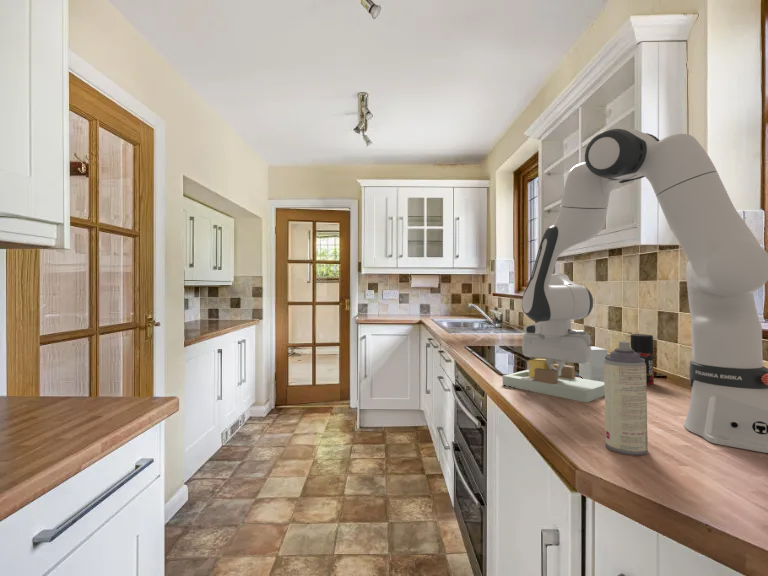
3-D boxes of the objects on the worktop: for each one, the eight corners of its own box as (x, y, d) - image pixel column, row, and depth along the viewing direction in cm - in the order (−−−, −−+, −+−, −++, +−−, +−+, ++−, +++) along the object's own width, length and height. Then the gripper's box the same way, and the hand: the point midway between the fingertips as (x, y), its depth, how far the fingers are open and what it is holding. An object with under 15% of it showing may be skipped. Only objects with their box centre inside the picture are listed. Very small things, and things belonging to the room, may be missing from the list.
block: (553, 375, 124) (551, 359, 124) (544, 378, 120) (542, 361, 121) (538, 374, 127) (537, 358, 128) (529, 376, 124) (528, 360, 125)
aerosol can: (634, 441, 79) (632, 339, 79) (656, 456, 72) (654, 344, 72) (598, 441, 79) (597, 339, 80) (616, 455, 73) (614, 344, 73)
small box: (608, 382, 128) (607, 349, 128) (590, 382, 128) (589, 349, 128) (595, 377, 136) (594, 346, 136) (578, 377, 136) (578, 346, 136)
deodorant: (635, 379, 131) (634, 333, 131) (656, 382, 127) (655, 335, 127) (628, 382, 127) (627, 335, 128) (649, 385, 123) (648, 336, 123)
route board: (609, 393, 115) (609, 370, 115) (586, 402, 106) (586, 377, 106) (527, 378, 135) (527, 359, 135) (502, 385, 127) (502, 364, 127)
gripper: (595, 330, 114) (596, 379, 114) (530, 325, 130) (531, 368, 130) (584, 331, 110) (585, 382, 110) (518, 327, 126) (519, 371, 126)
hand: (555, 374), depth 120 cm, fingers closed
